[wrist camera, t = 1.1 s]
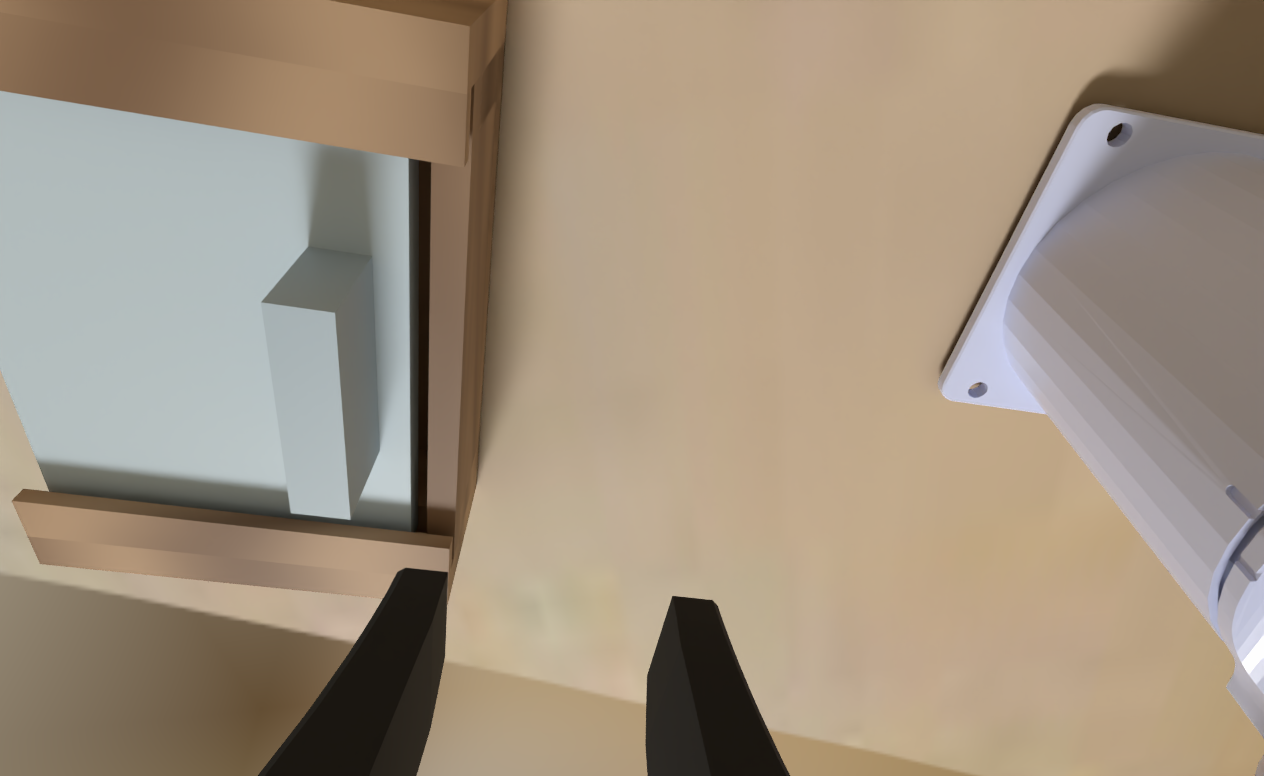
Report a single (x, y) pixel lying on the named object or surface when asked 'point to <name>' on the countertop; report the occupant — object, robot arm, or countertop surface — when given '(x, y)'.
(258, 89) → the box
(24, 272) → the lid
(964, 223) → the countertop surface
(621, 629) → the countertop surface
